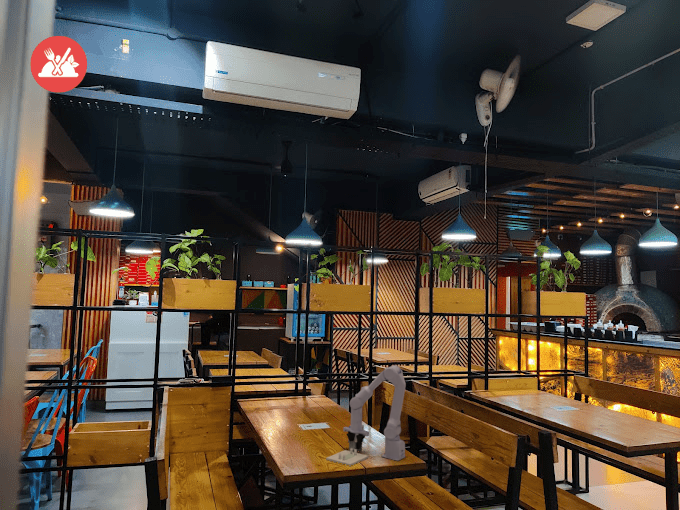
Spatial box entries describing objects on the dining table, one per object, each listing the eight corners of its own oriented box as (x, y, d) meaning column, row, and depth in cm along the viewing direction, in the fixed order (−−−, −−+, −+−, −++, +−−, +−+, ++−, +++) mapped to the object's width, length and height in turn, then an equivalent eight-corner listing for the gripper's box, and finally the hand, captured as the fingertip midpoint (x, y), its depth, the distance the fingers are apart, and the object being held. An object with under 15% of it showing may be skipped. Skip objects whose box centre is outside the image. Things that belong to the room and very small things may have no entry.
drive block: (362, 450, 257) (362, 439, 257) (354, 453, 251) (354, 442, 251) (356, 448, 259) (356, 438, 259) (348, 451, 253) (349, 441, 253)
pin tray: (368, 457, 244) (368, 450, 245) (350, 466, 231) (350, 458, 232) (345, 452, 253) (345, 444, 253) (326, 460, 239) (326, 452, 240)
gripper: (340, 419, 257) (339, 447, 256) (364, 424, 249) (363, 452, 248) (348, 417, 263) (347, 443, 262) (371, 422, 254) (370, 449, 253)
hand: (355, 448), depth 255 cm, fingers closed on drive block, 3 cm apart
